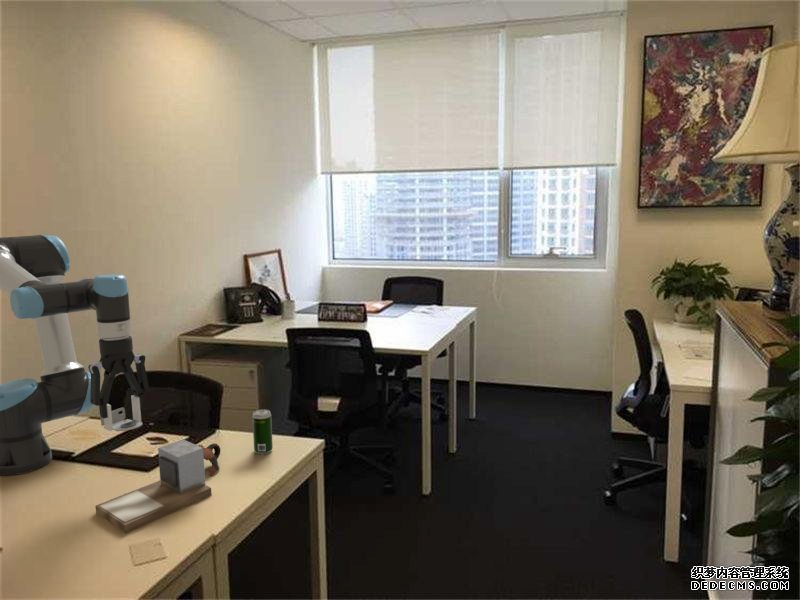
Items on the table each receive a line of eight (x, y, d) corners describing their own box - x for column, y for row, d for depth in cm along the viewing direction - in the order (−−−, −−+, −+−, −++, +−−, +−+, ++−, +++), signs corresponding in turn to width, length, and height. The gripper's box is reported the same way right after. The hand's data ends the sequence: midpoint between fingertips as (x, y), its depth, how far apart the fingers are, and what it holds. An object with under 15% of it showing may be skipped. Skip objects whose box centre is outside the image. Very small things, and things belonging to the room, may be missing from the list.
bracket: (124, 435, 152) (123, 421, 151) (101, 427, 158) (99, 414, 157) (148, 426, 157) (146, 413, 157) (124, 419, 163) (123, 407, 162)
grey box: (158, 485, 157) (155, 448, 156) (185, 474, 163) (182, 439, 162) (178, 496, 152) (175, 458, 150) (205, 484, 158) (203, 447, 156)
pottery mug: (207, 483, 164) (189, 458, 163) (186, 490, 169) (169, 466, 168) (234, 455, 174) (218, 432, 173) (214, 462, 179) (198, 439, 178)
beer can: (272, 453, 181) (271, 414, 179) (254, 455, 180) (252, 416, 178) (272, 446, 186) (271, 408, 184) (254, 448, 185) (252, 410, 183)
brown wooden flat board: (96, 513, 148) (95, 505, 147) (180, 479, 165) (179, 471, 165) (125, 533, 139) (125, 524, 139) (211, 495, 157) (211, 487, 156)
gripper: (82, 347, 144) (91, 440, 148) (160, 331, 159) (166, 416, 163) (67, 342, 148) (76, 433, 152) (144, 328, 164) (151, 410, 168)
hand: (123, 424), depth 158 cm, fingers closed on bracket, 7 cm apart
